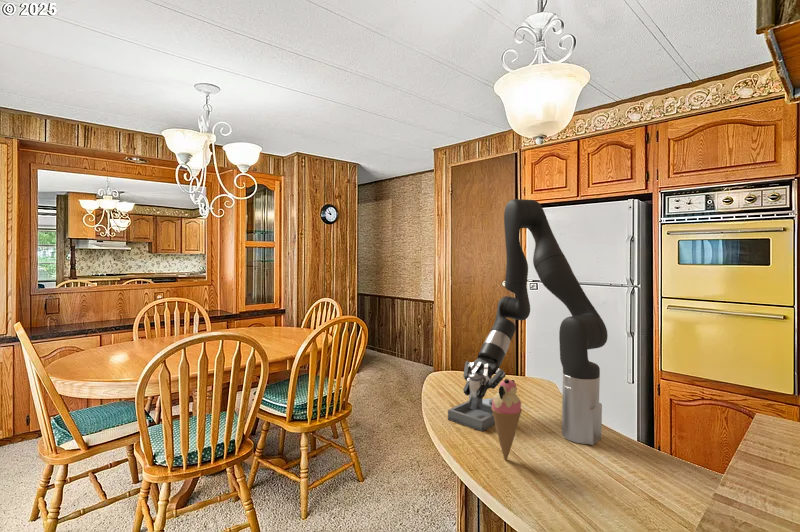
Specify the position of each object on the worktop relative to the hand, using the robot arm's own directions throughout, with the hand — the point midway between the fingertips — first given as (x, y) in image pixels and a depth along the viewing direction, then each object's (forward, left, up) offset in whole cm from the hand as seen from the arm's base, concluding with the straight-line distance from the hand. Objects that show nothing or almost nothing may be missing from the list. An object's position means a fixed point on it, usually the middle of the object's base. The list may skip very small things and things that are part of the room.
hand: (472, 395), depth 125 cm
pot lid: (+1, -13, -8) cm, 15 cm away
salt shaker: (0, -2, -4) cm, 4 cm away
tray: (0, -2, -8) cm, 8 cm away
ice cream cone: (-19, +13, -8) cm, 25 cm away
